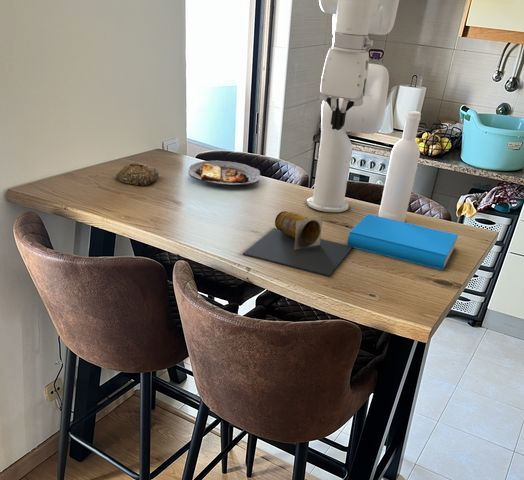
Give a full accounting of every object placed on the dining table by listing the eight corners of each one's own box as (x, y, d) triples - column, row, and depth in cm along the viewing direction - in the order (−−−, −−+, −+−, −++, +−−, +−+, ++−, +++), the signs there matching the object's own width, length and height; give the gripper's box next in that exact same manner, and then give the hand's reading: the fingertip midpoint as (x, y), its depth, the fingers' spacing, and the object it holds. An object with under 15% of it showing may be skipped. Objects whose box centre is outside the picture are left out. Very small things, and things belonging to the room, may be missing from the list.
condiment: (322, 216, 140) (292, 206, 148) (296, 221, 136) (266, 210, 144) (320, 244, 143) (291, 232, 152) (294, 250, 139) (266, 237, 147)
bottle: (384, 214, 169) (406, 107, 153) (408, 221, 166) (434, 113, 149) (372, 220, 164) (394, 110, 147) (397, 228, 160) (422, 116, 144)
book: (367, 213, 156) (458, 233, 148) (364, 228, 158) (454, 248, 150) (348, 232, 143) (447, 254, 135) (346, 248, 145) (443, 271, 137)
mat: (274, 229, 151) (274, 228, 151) (352, 248, 145) (353, 246, 144) (242, 254, 135) (242, 253, 135) (329, 276, 129) (329, 275, 129)
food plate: (258, 193, 176) (259, 182, 174) (184, 186, 175) (184, 175, 173) (260, 171, 197) (260, 161, 195) (193, 165, 196) (193, 155, 194)
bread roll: (163, 177, 182) (163, 161, 179) (148, 187, 172) (147, 171, 169) (126, 171, 184) (125, 156, 181) (109, 181, 173) (108, 165, 171)
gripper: (385, 46, 127) (370, 131, 137) (323, 38, 131) (312, 121, 141) (377, 48, 121) (362, 136, 131) (312, 39, 125) (302, 126, 135)
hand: (336, 128), depth 136 cm, fingers closed
